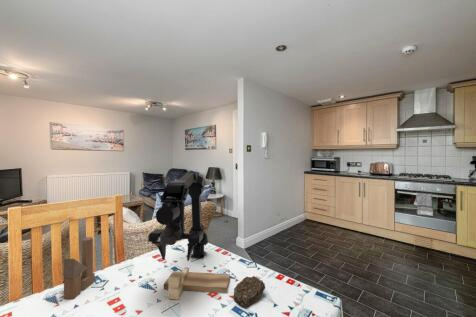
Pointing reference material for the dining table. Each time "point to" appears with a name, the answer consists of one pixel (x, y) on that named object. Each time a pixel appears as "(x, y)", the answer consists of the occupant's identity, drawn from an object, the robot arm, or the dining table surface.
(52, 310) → the dining table surface
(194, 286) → the board
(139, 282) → the dining table surface
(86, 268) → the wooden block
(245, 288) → the brown rock
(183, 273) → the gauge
